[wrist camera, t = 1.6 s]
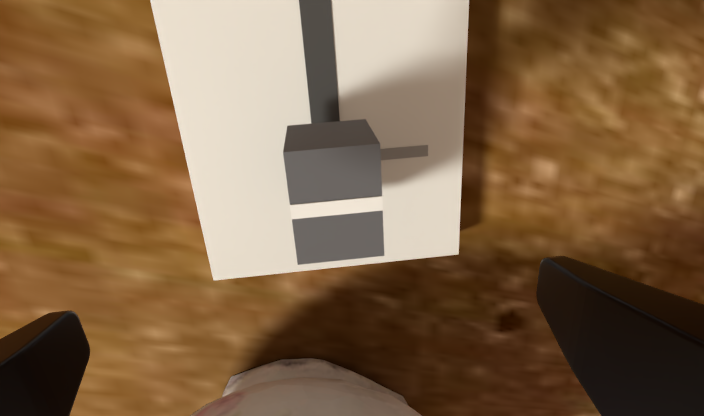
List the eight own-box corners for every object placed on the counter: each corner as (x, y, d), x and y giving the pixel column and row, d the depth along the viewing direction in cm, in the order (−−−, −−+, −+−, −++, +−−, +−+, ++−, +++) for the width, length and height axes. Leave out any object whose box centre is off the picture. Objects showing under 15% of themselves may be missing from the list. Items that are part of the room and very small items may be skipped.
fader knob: (361, 112, 18) (380, 144, 13) (366, 201, 20) (384, 256, 15) (288, 118, 18) (282, 152, 13) (299, 208, 19) (297, 265, 15)
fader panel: (462, -306, 15) (484, -352, 13) (446, 236, 24) (458, 255, 22) (102, -298, 14) (71, -346, 12) (220, 259, 23) (213, 281, 21)
